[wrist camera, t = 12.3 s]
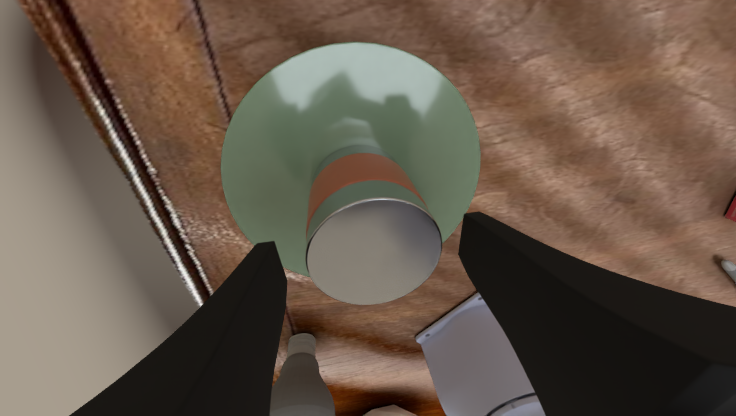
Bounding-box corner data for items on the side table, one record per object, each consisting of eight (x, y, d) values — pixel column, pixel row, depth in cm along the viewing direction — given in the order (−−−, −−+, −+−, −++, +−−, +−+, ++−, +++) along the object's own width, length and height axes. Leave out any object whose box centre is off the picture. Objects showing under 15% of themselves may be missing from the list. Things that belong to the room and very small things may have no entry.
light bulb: (312, 308, 25) (307, 442, 17) (342, 340, 28) (351, 465, 20) (258, 333, 26) (226, 474, 17) (293, 361, 29) (282, 492, 20)
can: (404, 223, 16) (438, 296, 11) (317, 234, 15) (315, 315, 11) (406, 138, 13) (451, 188, 9) (301, 148, 13) (289, 207, 8)
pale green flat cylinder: (355, 266, 23) (362, 309, 19) (200, 169, 17) (165, 204, 13) (484, 152, 19) (524, 178, 16) (343, -24, 13) (352, -53, 9)
